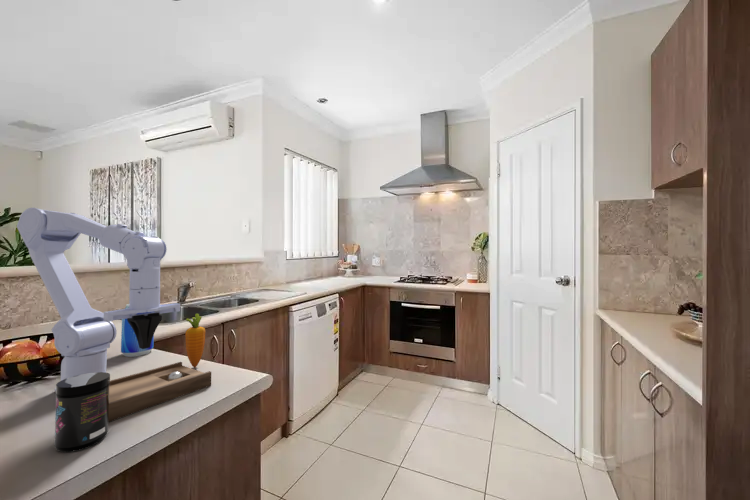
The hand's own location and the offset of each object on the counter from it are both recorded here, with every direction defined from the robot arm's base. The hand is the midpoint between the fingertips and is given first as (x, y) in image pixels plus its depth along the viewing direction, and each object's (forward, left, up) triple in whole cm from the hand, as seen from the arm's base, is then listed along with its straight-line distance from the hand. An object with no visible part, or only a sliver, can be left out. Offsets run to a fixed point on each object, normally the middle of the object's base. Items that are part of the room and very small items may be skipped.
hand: (144, 347), depth 72 cm
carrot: (-7, +16, -11) cm, 20 cm away
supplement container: (+13, -14, -11) cm, 22 cm away
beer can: (-36, +13, -11) cm, 40 cm away
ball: (+1, +6, -9) cm, 11 cm away
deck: (+2, 0, -10) cm, 10 cm away
